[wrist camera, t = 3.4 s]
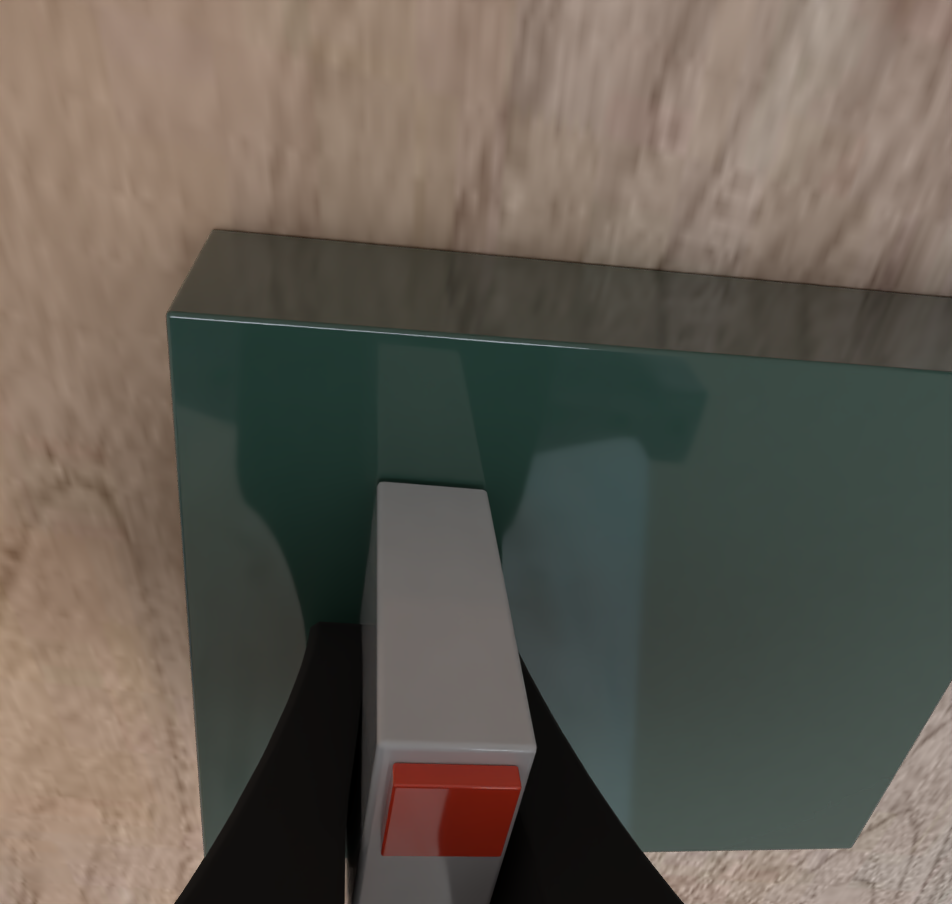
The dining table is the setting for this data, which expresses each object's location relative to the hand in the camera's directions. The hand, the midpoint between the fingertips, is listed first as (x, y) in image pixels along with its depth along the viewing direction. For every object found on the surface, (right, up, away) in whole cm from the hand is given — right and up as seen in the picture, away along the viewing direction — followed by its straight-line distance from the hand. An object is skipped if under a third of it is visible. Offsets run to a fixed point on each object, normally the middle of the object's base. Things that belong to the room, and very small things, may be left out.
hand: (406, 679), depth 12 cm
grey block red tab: (0, 0, 0) cm, 0 cm away
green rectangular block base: (+3, +2, +3) cm, 5 cm away
